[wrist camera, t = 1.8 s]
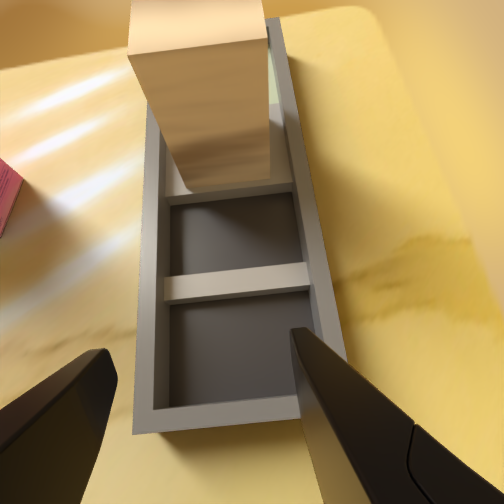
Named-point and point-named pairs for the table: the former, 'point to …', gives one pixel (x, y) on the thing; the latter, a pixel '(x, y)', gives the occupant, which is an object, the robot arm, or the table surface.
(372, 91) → the table surface
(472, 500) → the robot arm
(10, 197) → the box
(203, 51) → the block
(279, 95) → the box
